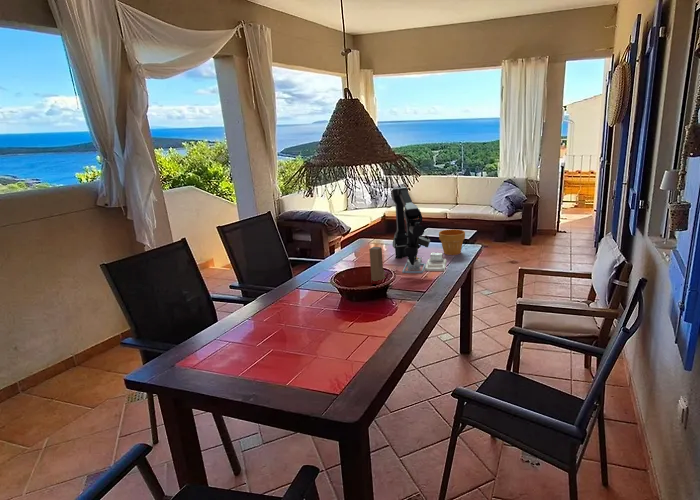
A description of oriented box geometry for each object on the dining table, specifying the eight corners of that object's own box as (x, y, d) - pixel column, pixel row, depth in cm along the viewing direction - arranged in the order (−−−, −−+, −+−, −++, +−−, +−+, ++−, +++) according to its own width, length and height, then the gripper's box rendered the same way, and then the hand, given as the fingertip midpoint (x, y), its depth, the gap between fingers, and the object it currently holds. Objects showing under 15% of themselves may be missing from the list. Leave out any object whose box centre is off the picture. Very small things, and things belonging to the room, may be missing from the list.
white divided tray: (424, 272, 216) (424, 268, 216) (428, 262, 232) (427, 258, 231) (444, 272, 213) (444, 268, 213) (446, 262, 229) (446, 258, 228)
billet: (407, 271, 219) (407, 261, 218) (409, 268, 223) (408, 259, 222) (419, 271, 218) (419, 261, 216) (420, 268, 221) (420, 259, 220)
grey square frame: (407, 265, 229) (406, 261, 229) (408, 261, 236) (408, 257, 235) (420, 265, 227) (420, 261, 227) (421, 261, 234) (421, 257, 233)
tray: (402, 274, 216) (402, 271, 215) (406, 266, 228) (406, 263, 227) (422, 274, 213) (422, 271, 212) (425, 266, 225) (425, 263, 225)
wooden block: (392, 284, 204) (390, 247, 199) (388, 287, 200) (386, 250, 195) (375, 282, 208) (373, 246, 204) (371, 285, 205) (368, 248, 200)
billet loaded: (430, 263, 226) (430, 254, 224) (431, 261, 229) (431, 252, 228) (442, 264, 224) (442, 254, 223) (442, 261, 228) (442, 252, 226)
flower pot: (459, 259, 233) (458, 236, 230) (435, 256, 242) (434, 234, 238) (469, 252, 244) (469, 230, 240) (446, 250, 252) (445, 228, 249)
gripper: (426, 236, 204) (427, 268, 208) (430, 228, 222) (431, 256, 226) (403, 237, 208) (405, 267, 212) (409, 228, 225) (410, 256, 229)
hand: (414, 262), depth 219 cm, fingers open, 9 cm apart
